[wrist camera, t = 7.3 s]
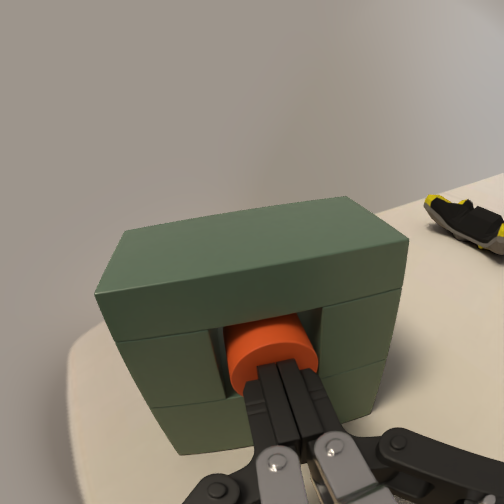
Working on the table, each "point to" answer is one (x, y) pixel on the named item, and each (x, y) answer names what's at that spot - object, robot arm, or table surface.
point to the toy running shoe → (468, 222)
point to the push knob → (266, 347)
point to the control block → (252, 307)
